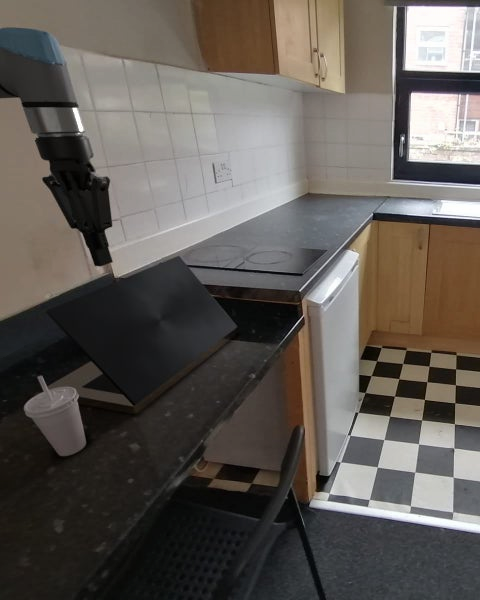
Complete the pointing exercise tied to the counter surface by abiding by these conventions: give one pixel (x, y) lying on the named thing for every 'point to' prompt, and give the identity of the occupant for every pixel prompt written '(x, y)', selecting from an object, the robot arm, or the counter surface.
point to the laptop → (105, 395)
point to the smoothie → (58, 418)
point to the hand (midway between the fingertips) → (103, 263)
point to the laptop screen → (145, 326)
